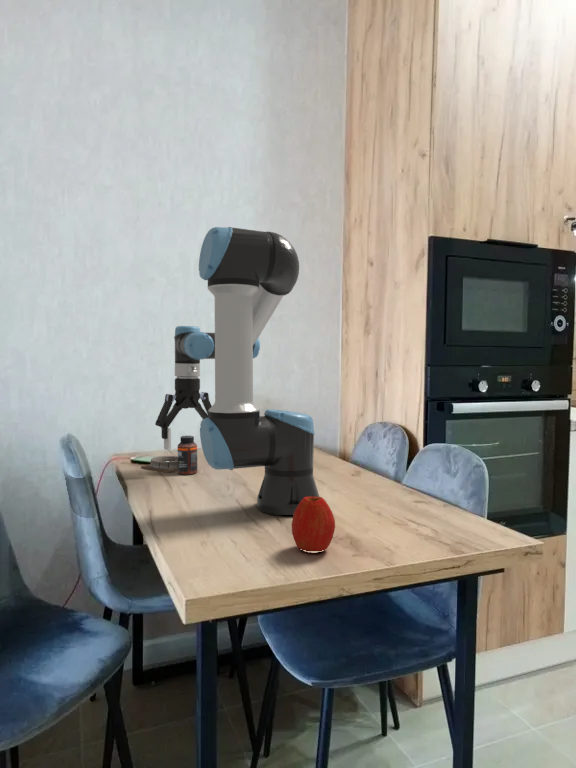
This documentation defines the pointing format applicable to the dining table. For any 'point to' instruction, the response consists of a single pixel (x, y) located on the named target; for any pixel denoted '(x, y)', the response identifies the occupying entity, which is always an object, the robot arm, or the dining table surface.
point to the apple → (313, 524)
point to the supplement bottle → (187, 456)
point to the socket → (163, 464)
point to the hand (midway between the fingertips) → (187, 447)
